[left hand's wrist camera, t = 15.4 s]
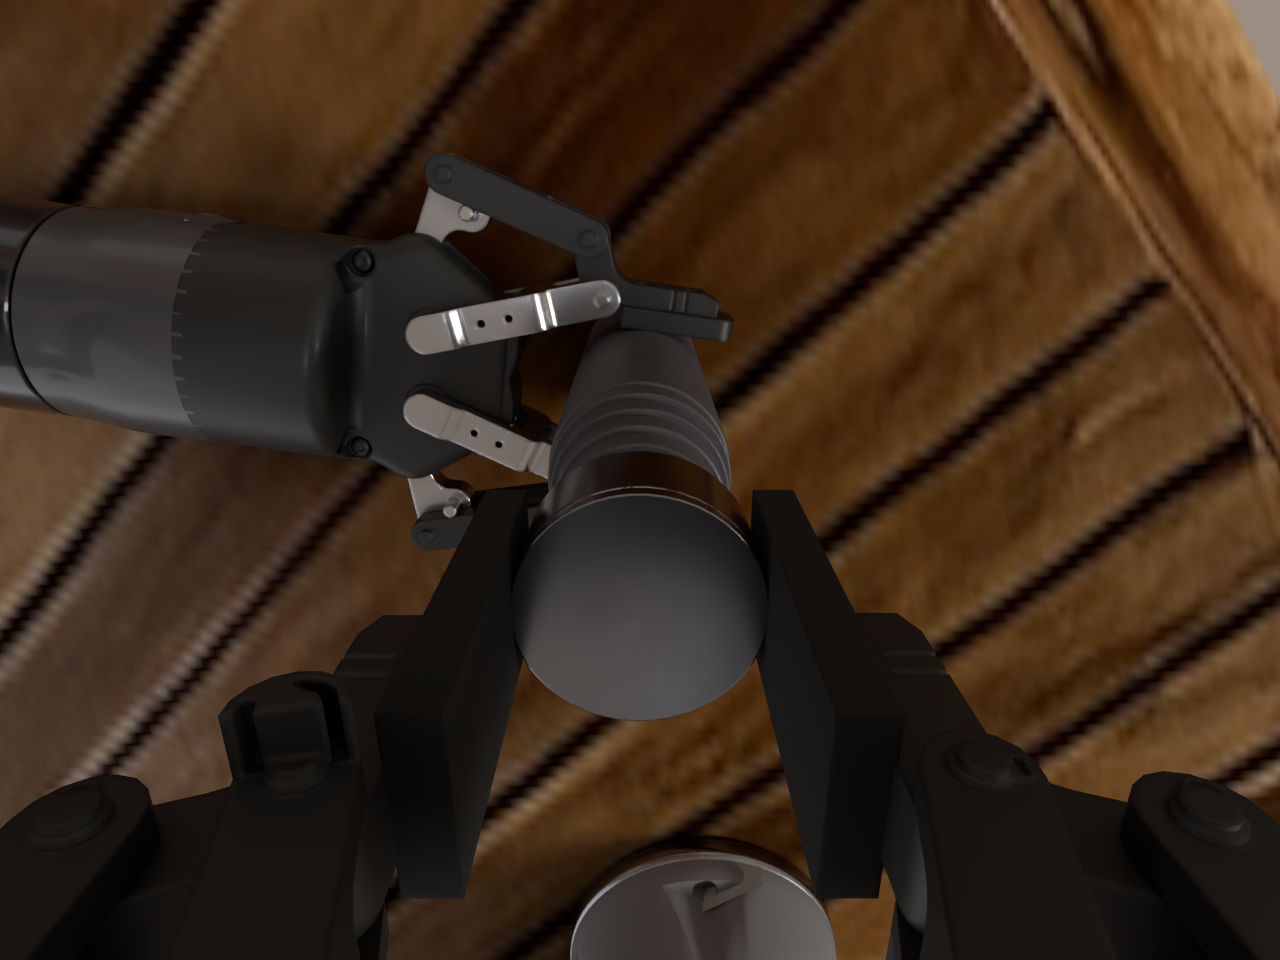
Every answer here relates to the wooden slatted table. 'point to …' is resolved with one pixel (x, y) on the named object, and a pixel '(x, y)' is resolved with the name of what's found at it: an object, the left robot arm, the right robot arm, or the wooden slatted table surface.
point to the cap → (639, 588)
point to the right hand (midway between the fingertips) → (714, 399)
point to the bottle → (638, 403)
